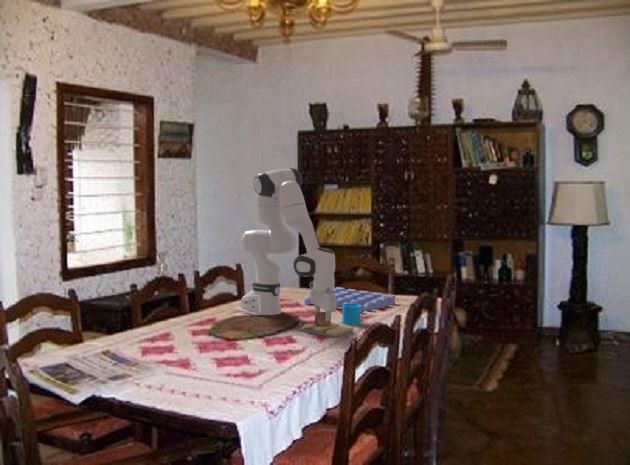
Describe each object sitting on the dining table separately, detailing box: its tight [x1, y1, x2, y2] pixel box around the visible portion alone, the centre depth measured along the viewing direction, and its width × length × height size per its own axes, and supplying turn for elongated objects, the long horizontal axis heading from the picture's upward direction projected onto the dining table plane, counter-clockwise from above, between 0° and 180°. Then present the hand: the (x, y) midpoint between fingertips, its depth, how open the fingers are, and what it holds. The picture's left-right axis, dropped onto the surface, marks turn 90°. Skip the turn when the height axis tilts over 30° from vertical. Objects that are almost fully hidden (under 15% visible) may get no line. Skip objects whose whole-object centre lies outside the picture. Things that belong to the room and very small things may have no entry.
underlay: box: [299, 324, 354, 339], centre depth 294 cm, size 18×14×2 cm
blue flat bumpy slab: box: [303, 286, 396, 314], centre depth 354 cm, size 35×34×5 cm
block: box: [314, 311, 332, 327], centre depth 295 cm, size 5×5×5 cm
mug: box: [341, 303, 362, 326], centre depth 314 cm, size 12×8×8 cm
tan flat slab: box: [302, 320, 341, 333], centre depth 296 cm, size 11×12×1 cm
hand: (322, 318), depth 295 cm, fingers open, 8 cm apart
